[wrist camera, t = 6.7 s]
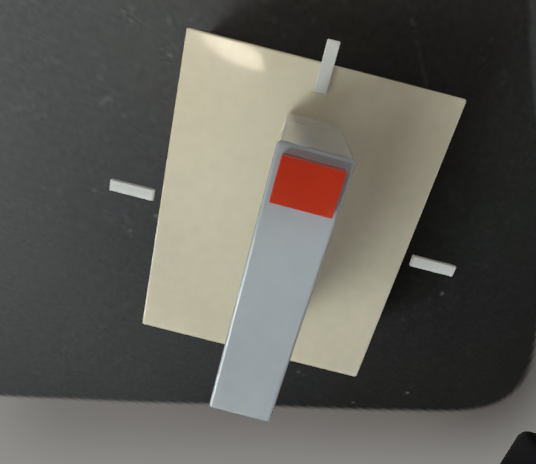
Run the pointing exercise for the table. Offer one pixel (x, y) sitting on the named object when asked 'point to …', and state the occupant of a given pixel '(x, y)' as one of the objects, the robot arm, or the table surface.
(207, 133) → the tap base
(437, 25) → the table surface
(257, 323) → the tap handle
